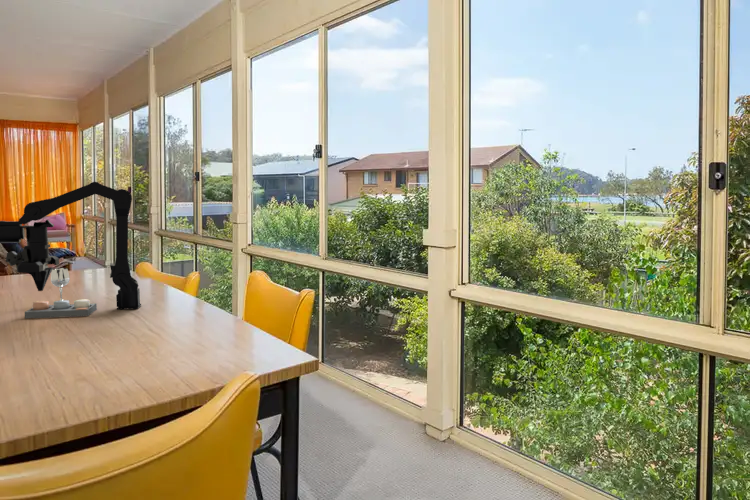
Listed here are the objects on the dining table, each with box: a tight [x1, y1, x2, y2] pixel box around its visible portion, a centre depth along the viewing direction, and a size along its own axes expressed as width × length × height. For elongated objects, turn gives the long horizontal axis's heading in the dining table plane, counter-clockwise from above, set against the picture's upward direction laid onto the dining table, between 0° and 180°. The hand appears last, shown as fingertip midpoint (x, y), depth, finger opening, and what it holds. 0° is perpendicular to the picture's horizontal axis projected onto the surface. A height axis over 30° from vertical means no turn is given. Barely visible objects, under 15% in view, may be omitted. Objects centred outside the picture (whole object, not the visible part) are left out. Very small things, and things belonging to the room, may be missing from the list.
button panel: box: [24, 303, 97, 319], centre depth 181 cm, size 18×10×2 cm, turn 102°
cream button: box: [73, 299, 91, 309], centre depth 182 cm, size 4×4×3 cm
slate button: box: [53, 299, 70, 309], centre depth 181 cm, size 4×4×3 cm
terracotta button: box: [32, 300, 50, 310], centre depth 180 cm, size 4×4×3 cm
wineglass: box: [50, 267, 70, 300], centre depth 198 cm, size 6×6×12 cm
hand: (40, 290), depth 179 cm, fingers closed
